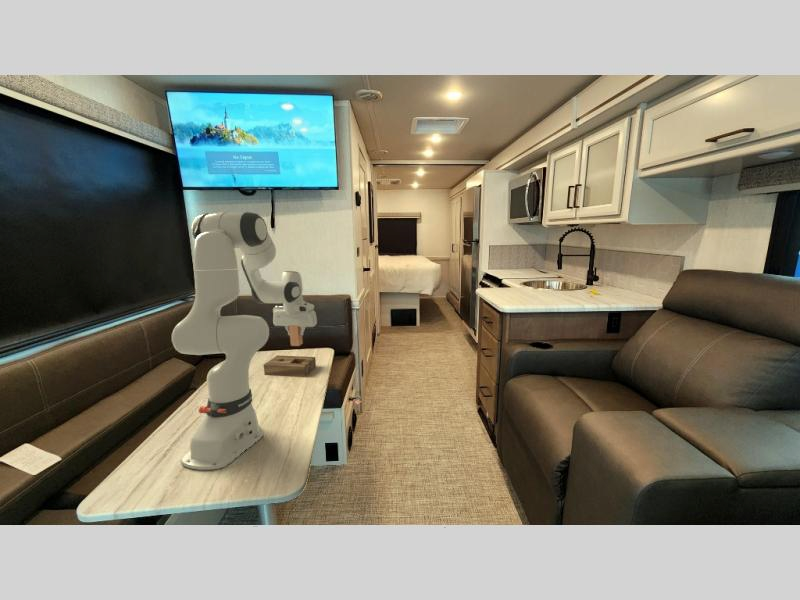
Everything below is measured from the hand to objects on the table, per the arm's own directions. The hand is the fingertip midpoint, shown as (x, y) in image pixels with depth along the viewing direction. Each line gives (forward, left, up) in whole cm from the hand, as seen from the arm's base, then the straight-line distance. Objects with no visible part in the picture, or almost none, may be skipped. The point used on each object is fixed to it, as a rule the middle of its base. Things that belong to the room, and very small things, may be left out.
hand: (296, 335), depth 145 cm
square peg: (0, 0, -5) cm, 5 cm away
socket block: (0, +4, -18) cm, 18 cm away
